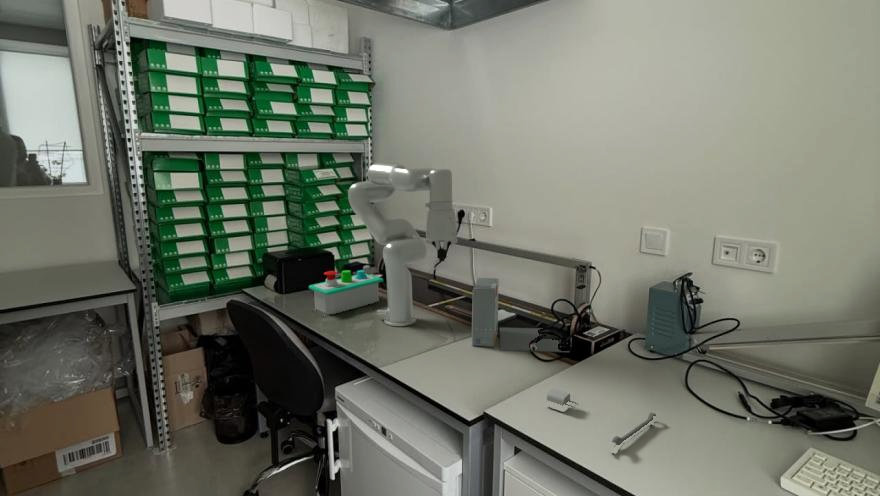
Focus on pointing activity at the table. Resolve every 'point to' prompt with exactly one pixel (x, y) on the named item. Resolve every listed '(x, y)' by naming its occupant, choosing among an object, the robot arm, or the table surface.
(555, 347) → the mat
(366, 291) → the control panel
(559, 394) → the usb wall charger
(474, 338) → the hard drive box
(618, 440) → the combination wrench
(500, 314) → the phone case
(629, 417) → the table surface
